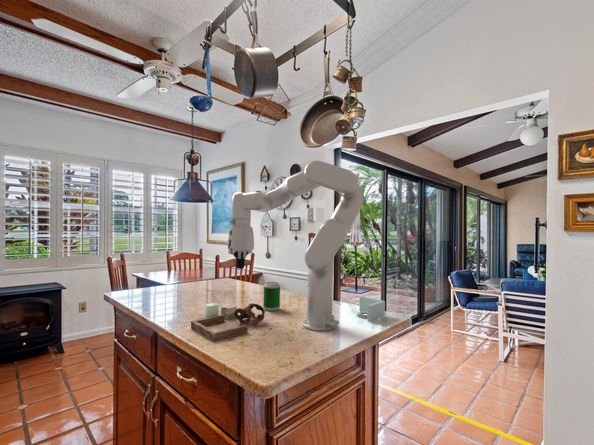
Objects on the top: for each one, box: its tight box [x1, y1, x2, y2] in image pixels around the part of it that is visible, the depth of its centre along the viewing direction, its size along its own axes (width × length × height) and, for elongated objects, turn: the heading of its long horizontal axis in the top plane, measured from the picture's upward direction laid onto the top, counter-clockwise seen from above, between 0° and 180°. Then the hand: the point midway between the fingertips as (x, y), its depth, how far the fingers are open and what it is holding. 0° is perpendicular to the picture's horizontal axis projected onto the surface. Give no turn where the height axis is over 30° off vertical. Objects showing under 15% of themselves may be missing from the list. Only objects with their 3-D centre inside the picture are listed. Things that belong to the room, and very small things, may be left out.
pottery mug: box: [234, 303, 266, 326], centre depth 120 cm, size 12×10×8 cm
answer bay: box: [190, 314, 248, 342], centre depth 111 cm, size 17×13×3 cm
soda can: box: [262, 281, 281, 312], centre depth 140 cm, size 8×8×12 cm
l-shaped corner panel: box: [356, 295, 386, 323], centre depth 131 cm, size 12×12×8 cm
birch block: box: [220, 304, 238, 320], centre depth 127 cm, size 4×4×4 cm
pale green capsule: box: [205, 302, 220, 318], centre depth 123 cm, size 5×5×6 cm
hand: (240, 268), depth 124 cm, fingers closed
